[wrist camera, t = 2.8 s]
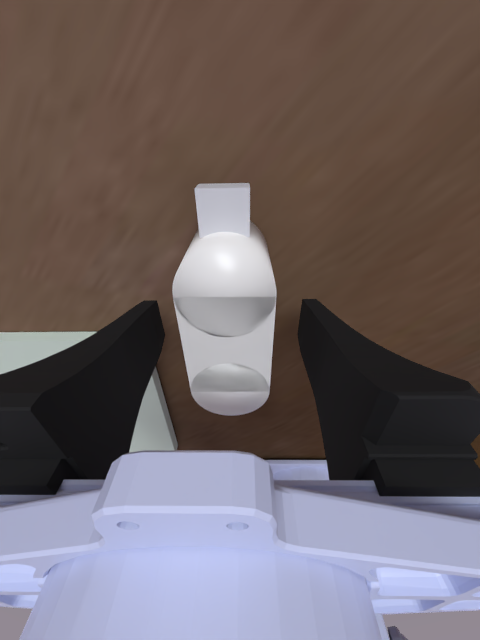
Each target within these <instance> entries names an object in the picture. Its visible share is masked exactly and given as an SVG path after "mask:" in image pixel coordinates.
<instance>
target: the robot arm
mask: <svg viewBox="0 0 480 640" xmlns="http://www.w3.org/2000/svg"><path fill="white" fill-rule="evenodd" d="M164 337H165V333H164V329H163V325H162V320H161V316H160V312H159V307H158V303H157V301H143V302H141V303H139V304H138V305H136V306H135V307H133V308H132V309H131V310H129V311H128V312H126V313H125V314H123V315H122V316H121V317H119V318H118V319H116V320H115V321H113V322H112V323H110V324H109V325H107V326H106V327H104V328H103V329H101V330H99V331H98V332H96V333H95V334H93V335H91V336H90V337H88V338H86V339H84V340H83V341H81V342H79V343H77V344H75V345H73V346H71V347H69V348H67V349H65V350H62V351H60V352H58V353H56V354H53V355H51V356H49V357H47V358H44V359H42V360H39V361H37V362H34V363H32V364H29V365H26V366H24V367H21V368H18V369H15V370H12V371H9V372H6V373H3V374H0V607H14V608H29V609H33V610H32V612H31V614H30V616H29V618H28V621H27V623H26V625H25V628H24V630H23V632H22V634H21V637H20V639H19V640H389V637H390V640H408V639H407V638H405V637H404V636H403V635H402V634H400V632H399V630H398V629H397V627H395V626H392V627H387V628H388V633H389V637H388V633H387V630H386V626H385V623H384V619H383V616H382V614H401V613H402V614H403V613H424V612H449V611H474V610H480V469H479V467H478V466H477V464H476V463H475V462H474V460H476V458H477V457H478V456H477V453H476V452H475V450H474V449H473V448H472V446H471V445H470V443H471V442H472V441H473V440H474V439H475V438H476V437H477V436H478V435H479V433H480V394H479V393H478V392H477V391H476V390H475V388H474V387H473V386H472V385H471V384H470V383H469V382H468V381H465V380H462V379H459V378H456V377H453V376H450V375H447V374H444V373H441V372H438V371H435V370H432V369H430V368H427V367H425V366H422V365H420V364H417V363H415V362H412V361H410V360H408V359H405V358H403V357H401V356H399V355H397V354H395V353H393V352H391V351H389V350H387V349H385V348H383V347H381V346H379V345H378V344H376V343H374V342H373V341H371V340H369V339H367V338H366V337H364V336H363V335H361V334H360V333H358V332H357V331H355V330H354V329H353V328H351V327H350V326H348V325H347V324H346V323H344V322H343V321H342V320H341V319H339V318H338V317H337V316H336V315H334V314H333V313H332V312H331V311H330V310H328V309H327V308H326V307H325V306H324V305H323V304H321V303H320V302H319V301H318V300H316V299H302V306H301V313H300V321H299V328H298V340H299V346H300V351H301V355H302V358H303V361H304V364H305V368H306V371H307V374H308V377H309V380H310V383H311V386H312V389H313V393H314V396H315V400H316V405H317V410H318V415H319V420H320V426H321V431H322V437H323V443H324V449H325V455H326V460H264V459H262V458H260V457H258V456H256V455H254V454H253V453H247V452H240V451H215V450H143V451H137V452H130V453H129V450H130V446H131V441H132V437H133V433H134V429H135V425H136V421H137V417H138V414H139V410H140V406H141V403H142V399H143V397H144V394H145V391H146V388H147V386H148V383H149V381H150V379H151V376H152V374H153V371H154V369H155V366H156V364H157V361H158V359H159V356H160V353H161V350H162V346H163V342H164Z"/></svg>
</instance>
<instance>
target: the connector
mask: <svg viewBox="0 0 480 640" xmlns="http://www.w3.org/2000/svg"><path fill="white" fill-rule="evenodd" d="M195 198H196V207H197V216H198V226H199V229H198V231H197V232H196V234H195V236H194V238H193V240H192V242H191V244H190V246H189V248H188V250H187V252H186V254H185V256H184V258H183V260H182V262H181V264H180V266H179V268H178V270H177V272H176V275H175V278H174V281H173V289H172V292H173V300H174V305H175V310H176V315H177V321H178V326H179V331H180V336H181V342H182V347H183V352H184V358H185V363H186V368H187V373H188V379H189V384H190V389H191V393H192V396H193V398H194V400H195V401H196V402H197V403H198V404H199V405H200V406H201V407H203V408H204V409H206V410H208V411H210V412H213V413H216V414H220V415H229V416H234V415H243V414H247V413H250V412H252V411H255V410H256V409H258V408H260V407H261V406H262V405H263V404H264V403H265V402H266V400H267V399H268V396H269V392H270V378H271V365H272V351H273V337H274V323H275V309H276V285H275V280H274V275H273V271H272V266H271V261H270V257H269V252H268V248H267V243H266V240H265V238H264V235H263V234H262V232H261V231H260V229H259V228H258V227H257V226H256V225H255V224H254V223H252V222H251V221H250V184H249V183H221V184H198V185H197V186H196V188H195Z"/></svg>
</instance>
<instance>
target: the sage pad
mask: <svg viewBox="0 0 480 640" xmlns="http://www.w3.org/2000/svg"><path fill="white" fill-rule="evenodd" d="M95 333H96V332H0V374H3V373H6V372H9V371H12V370H15V369H18V368H21V367H24V366H26V365H29V364H32V363H34V362H37V361H39V360H42V359H44V358H47V357H49V356H51V355H53V354H56V353H58V352H60V351H62V350H65V349H67V348H69V347H71V346H73V345H75V344H77V343H79V342H81V341H83V340H84V339H86V338H88V337H90V336H91V335H93V334H95ZM177 447H178V443H177V440H176V436H175V433H174V429H173V426H172V422H171V419H170V415H169V412H168V408H167V405H166V401H165V398H164V394H163V391H162V387H161V383H160V380H159V376H158V373H157V369H156V366H155V369H154V371H153V374H152V376H151V379H150V381H149V383H148V386H147V388H146V391H145V394H144V397H143V399H142V403H141V406H140V410H139V414H138V417H137V421H136V425H135V429H134V433H133V437H132V441H131V446H130V450H129V453H130V452H137V451H143V450H177Z"/></svg>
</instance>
